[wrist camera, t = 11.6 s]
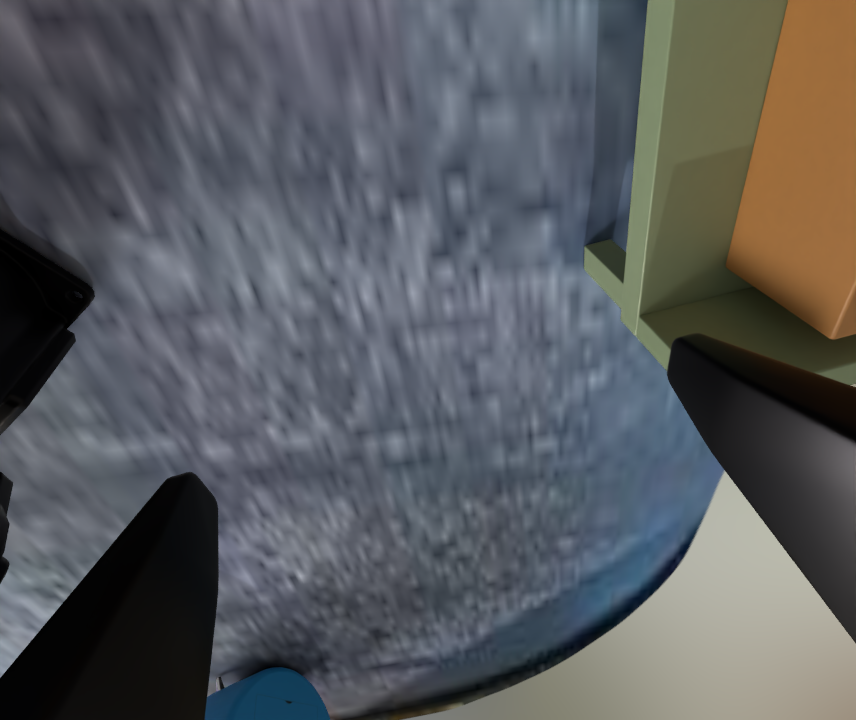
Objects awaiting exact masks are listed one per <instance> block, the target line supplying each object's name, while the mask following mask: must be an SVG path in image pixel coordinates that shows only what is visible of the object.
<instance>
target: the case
mask: <svg viewBox="0 0 856 720" xmlns="http://www.w3.org/2000/svg"><path fill="white" fill-rule="evenodd" d="M726 268H727V269H729V270H730V271H732V272H733V273H734V274H736V275H737V276H739V277H740V278H742V279H743V280H745V281H746V282H748V283H749V284H751V285H752V286H753V287H755V288H756V289H758V290H759V291H761V292H762V293H764V294H765V295H767V296H768V297H770V298H771V299H772V300H774V301H775V302H777V303H778V304H780V305H781V306H783V307H784V308H786V309H787V310H789V311H790V312H791V313H793V314H794V315H796V316H797V317H799V318H800V319H802V320H803V321H805V322H806V323H807V324H809V325H810V326H812V327H813V328H815V329H816V330H818V331H819V332H821V333H822V334H824V335H825V336H826V337H828V338H829V339H838V338H842V337H846V336H849V335H853V334H856V0H788V3H787V7H786V11H785V16H784V20H783V24H782V28H781V33H780V37H779V41H778V45H777V50H776V54H775V58H774V62H773V66H772V71H771V75H770V79H769V83H768V88H767V92H766V96H765V100H764V105H763V109H762V113H761V117H760V121H759V126H758V130H757V134H756V138H755V143H754V147H753V151H752V155H751V160H750V164H749V168H748V172H747V176H746V181H745V185H744V189H743V193H742V198H741V202H740V206H739V210H738V215H737V219H736V223H735V227H734V232H733V236H732V240H731V244H730V248H729V253H728V257H727V261H726Z"/></svg>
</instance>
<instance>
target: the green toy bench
mask: <svg viewBox="0 0 856 720" xmlns="http://www.w3.org/2000/svg"><path fill="white" fill-rule="evenodd" d="M787 3H788V0H648V5H647V17H646V28H645V40H644V52H643V63H642V75H641V87H640V98H639V110H638V122H637V133H636V145H635V157H634V168H633V180H632V192H631V203H630V215H629V227H628V238H627V250H626V252H625V251H624V250H623V249H621V248H620V247H619V246H618V245H617V244H616V243H615V242H613V241H612V240H611V239H609V240H605V241H601V242H597V243H594V244H590V245H586V246H585V253H584V270H585V271H586V272H587V273H588V274H589V275H590V276H591V277H592V278H593V280H594V281H595V282H596V283H597V284H598V285H599V286H600V287H601V288H602V289H603V290H604V291H605V292H606V293H607V295H608V296H609V297H610V298H611V299H612V300H613V301H614V302H615V303H616V304H617V305H618V306H619V307H620V309H621V321H622V322H623V323H624V324H625V325H626V326H627V328H628V329H629V330H630V331H631V332H632V333H633V334H634V335H635V336H636V337H637V338H638V339H639V341H640V342H641V343H642V344H643V345H644V346H645V347H646V348H647V349H648V351H649V352H650V353H651V354H652V355H653V356H654V357H655V358H656V359H657V361H658V362H659V363H660V364H661V365H662V366H663V367H664V368H665V369H666V371H667V369H668V363H669V357H670V351H671V346H672V342H673V341H674V340H675V339H676V338H678V337H681V336H685V335H688V334H692V333H701V334H704V335H707V336H710V337H712V338H715V339H718V340H721V341H724V342H727V343H730V344H733V345H735V346H738V347H741V348H744V349H747V350H750V351H753V352H756V353H758V354H761V355H764V356H767V357H770V358H773V359H776V360H779V361H781V362H784V363H787V364H790V365H793V366H796V367H799V368H801V369H804V370H807V371H810V372H813V373H816V374H819V375H822V376H824V377H827V378H830V379H833V380H836V381H839V382H842V383H845V384H847V385H852V384H856V334H853V335H849V336H846V337H842V338H838V339H829V338H828V337H826V336H825V335H824V334H822V333H821V332H819V331H818V330H816V329H815V328H813V327H812V326H810V325H809V324H807V323H806V322H805V321H803V320H802V319H800V318H799V317H797V316H796V315H794V314H793V313H791V312H790V311H789V310H787V309H786V308H784V307H783V306H781V305H780V304H778V303H777V302H775V301H774V300H772V299H771V298H770V297H768V296H767V295H765V294H764V293H762V292H761V291H759V290H758V289H756V288H755V287H753V286H752V285H751V284H749V283H748V282H746V281H745V280H743V279H742V278H740V277H739V276H737V275H736V274H734V273H733V272H732V271H730V270H729V269H727V268H726V261H727V257H728V253H729V248H730V244H731V240H732V236H733V232H734V227H735V223H736V219H737V215H738V210H739V206H740V202H741V198H742V193H743V189H744V185H745V181H746V176H747V172H748V168H749V164H750V160H751V155H752V151H753V147H754V143H755V138H756V134H757V130H758V126H759V121H760V117H761V113H762V109H763V105H764V100H765V96H766V92H767V88H768V83H769V79H770V75H771V71H772V66H773V62H774V58H775V54H776V50H777V45H778V41H779V37H780V33H781V28H782V24H783V20H784V16H785V11H786V7H787Z"/></svg>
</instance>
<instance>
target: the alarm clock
mask: <svg viewBox="0 0 856 720" xmlns="http://www.w3.org/2000/svg"><path fill="white" fill-rule="evenodd" d="M205 720H330V717H329V714H328V712H327V709H326V707H325V705H324V703H323V701H322V699H321V697H320V695H319V694H318V692H317V691H316V689H315V688H314V687H313V686H312V684H311V683H310V682H309V681H308V680H307V679H306V678H305V677H303V676H302V675H301V674H299V673H297V672H296V671H294V670H291V669H288V668H284V667H273V668H268V669H265V670H262V671H260V672H258V673H256V674H254V675H252V676H249V677H247V678H245V679H243V680H241V681H239V682H236V683H234V684H232V685H230V686H228V687H226V688H224V685H223V683H222V680H221V677H218V678H216V692H215V693H213V694H212V695H210V696H208V697H207V702H206V711H205Z"/></svg>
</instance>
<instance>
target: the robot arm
mask: <svg viewBox="0 0 856 720" xmlns="http://www.w3.org/2000/svg"><path fill="white" fill-rule="evenodd" d="M72 291H76V292H79V293H80V294H81V295H82V297H83V298H80V297H77V296H75V295H74V294H73V293H72ZM94 297H95V293H94V290H93V289H92V287H91V286H89V285H88V284H87V283H85V282H84V281H82V280H81V279H79V278H78V277H76V276H74V275H73V274H71V273H70V272H68V271H66V270H65V269H63V268H62V267H60V266H58V265H57V264H55V263H54V262H52V261H51V260H49V259H47V258H46V257H44V256H43V255H41V254H39V253H38V252H36V251H35V250H33V249H31V248H30V247H28V246H27V245H25V244H24V243H22V242H20V241H19V240H17V239H16V238H14V237H12V236H11V235H9V234H8V233H6V232H4V231H3V230H1V229H0V435H1V434H2V433H3V432H4V431H5V430H6V429H7V428H8V427H9V425H10V424H11V423H12V422H13V421H14V420H15V419H16V418H17V417H18V416H19V415H20V414H21V413H22V412H23V411H24V410H25V409H26V408H27V407H28V405H29V404H30V403H31V401H32V400H33V399H34V397H35V396H36V395H37V393H38V392H39V391H40V389H41V388H42V386H43V385H44V384H45V382H46V381H47V380H48V378H49V377H50V375H51V374H52V373H53V371H54V370H55V369H56V367H57V366H58V365H59V363H60V362H61V360H62V359H63V358H64V356H65V355H66V354H67V352H68V351H69V350H70V348H71V347H72V345H73V344H74V343H75V341H76V339H75V335H74V333H72V332H70V331H69V330H67V328H68V327H69V326H70V325H71V324H72V323H73V322H74V321H75V320H76V319H77V318H78V316H79V315H80V314H81V313H82V312H83V311H84V310H85V309H86V308H87V307H88V306H89V305H90V303H91V302H92V301H93V299H94ZM667 376H668V380H669V382H670V384H671V386H672V388H673V390H674V391H675V393H676V395H677V396H678V398H679V400H680V401H681V403H682V405H683V406H684V408H685V410H686V411H687V413H688V415H689V416H690V418H691V420H692V421H693V423H694V425H695V426H696V428H697V430H698V431H699V433H700V435H701V436H702V438H703V440H704V441H705V443H706V445H707V446H708V448H709V449H710V451H711V452H712V454H713V455H714V456H715V458H716V459H717V460H718V462H719V463H720V465H721V466H722V467H723V468H724V470H725V471H726V472H727V474H728V475H729V476H730V478H731V479H732V480H733V482H734V483H735V484H736V486H737V487H738V488H739V490H740V491H741V492H742V493H743V495H744V496H745V497H746V499H747V500H748V501H749V503H750V504H751V505H752V507H753V508H754V509H755V511H756V512H757V513H758V515H759V516H760V517H761V519H762V520H763V521H764V523H765V524H766V525H767V527H768V528H769V529H770V530H771V532H772V533H773V535H775V537H776V538H777V540H778V541H779V542H780V544H781V545H782V546H783V548H784V549H785V550H786V551H787V553H788V554H789V556H790V557H791V558H792V560H793V561H794V562H795V564H796V565H797V566H798V568H799V569H800V570H801V572H802V573H803V574H804V575H805V577H806V578H807V579H808V581H809V582H810V583H811V585H812V586H813V587H814V589H815V590H816V591H817V593H818V594H819V595H820V596H821V598H822V599H823V600H824V602H825V603H826V605H827V606H828V607H829V609H830V610H831V611H832V613H833V614H834V615H835V617H836V618H837V619H838V620H839V622H840V623H841V624H842V626H843V627H844V628H845V630H846V631H847V632H848V634H849V635H850V636H851V637H852V639H853V640H854V642H855V643H856V387H853V386H850V385H847V384H845V383H842V382H839V381H836V380H833V379H830V378H827V377H824V376H822V375H819V374H816V373H813V372H810V371H807V370H804V369H801V368H799V367H796V366H793V365H790V364H787V363H784V362H781V361H779V360H776V359H773V358H770V357H767V356H764V355H761V354H758V353H756V352H753V351H750V350H747V349H744V348H741V347H738V346H735V345H733V344H730V343H727V342H724V341H721V340H718V339H715V338H712V337H710V336H707V335H704V334H701V333H692V334H688V335H685V336H681V337H678V338H676V339H675V340H674V341H673V342H672V346H671V351H670V357H669V363H668V369H667ZM12 486H13V482H12V481H11V480H9V479H8V478H7V477H6V476H5V475H4V474H3V473H1V472H0V584H1V582H2V580H3V578H4V577H5V575H6V573H7V570H8V567H9V562H8V560H7V559H5V558H4V557H3V556H2V555H3V553H4V550H5V545H6V539H7V534H8V529H9V522H8V519H7V517H6V516H7V511H8V506H9V501H10V496H11V491H12ZM218 577H219V572H218V505H217V502H216V499H215V497H214V496H213V495H212V493H211V492H210V491H209V490H208V488H207V487H206V486H205V485H204V484H203V482H202V481H201V480H200V479H199V478H198V476H197V475H196V474H194V473H192V472H187V473H183V474H180V475H176V476H172V477H170V478H168V479H167V480H166V481H165V482H164V483H163V484H162V485H161V486H160V487H159V489H158V490H157V491H156V492H155V493H154V495H153V496H152V497H151V498H150V499H149V501H148V502H147V503H146V504H145V505H144V507H143V508H142V509H141V510H140V511H139V513H138V514H137V515H136V516H135V517H134V519H133V520H132V521H131V522H130V523H129V525H128V526H127V527H126V528H125V529H124V531H123V532H122V533H121V534H120V535H119V537H118V538H117V539H116V540H115V541H114V543H113V544H112V545H111V546H110V547H109V549H108V550H107V551H106V552H105V553H104V555H103V556H102V557H101V558H100V559H99V561H98V562H97V563H96V564H95V565H94V567H93V568H92V569H91V570H90V571H89V573H88V574H87V575H86V576H85V577H84V579H83V580H82V581H81V582H80V583H79V585H78V586H77V587H76V588H75V589H74V590H73V592H72V593H71V594H70V595H69V596H68V598H67V599H66V600H65V601H64V602H63V604H62V605H61V606H60V607H59V608H58V610H57V611H56V612H55V613H54V614H53V616H52V617H51V618H50V619H49V620H48V622H47V623H46V624H45V625H44V626H43V628H42V629H41V630H40V631H39V632H38V634H37V635H36V636H35V637H34V638H33V640H32V641H31V642H30V643H29V644H28V646H27V647H26V648H25V649H24V650H23V652H22V653H21V654H20V655H19V656H18V658H17V659H16V660H15V661H14V662H13V664H12V665H11V666H10V667H9V668H8V669H7V671H6V672H5V673H4V674H3V675H2V677H1V678H0V720H205V711H206V702H207V693H208V683H209V674H210V665H211V655H212V646H213V637H214V627H215V618H216V609H217V598H218Z"/></svg>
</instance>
